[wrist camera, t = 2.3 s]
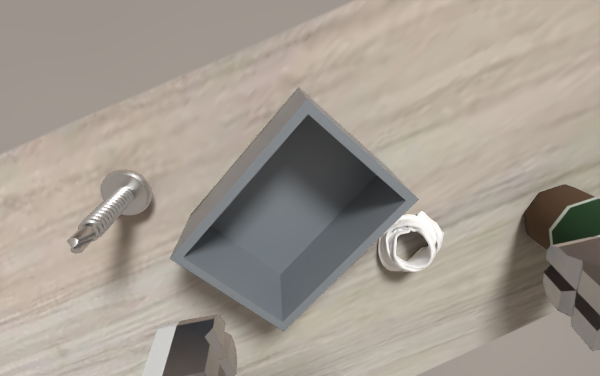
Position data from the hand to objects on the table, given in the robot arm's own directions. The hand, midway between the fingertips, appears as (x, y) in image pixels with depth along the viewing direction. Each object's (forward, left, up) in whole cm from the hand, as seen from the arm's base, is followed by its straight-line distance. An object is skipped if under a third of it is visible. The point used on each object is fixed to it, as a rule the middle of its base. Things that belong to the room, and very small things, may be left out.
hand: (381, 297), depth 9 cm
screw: (-17, +8, -30) cm, 36 cm away
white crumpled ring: (-3, -20, -31) cm, 37 cm away
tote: (-7, -5, -30) cm, 32 cm away
